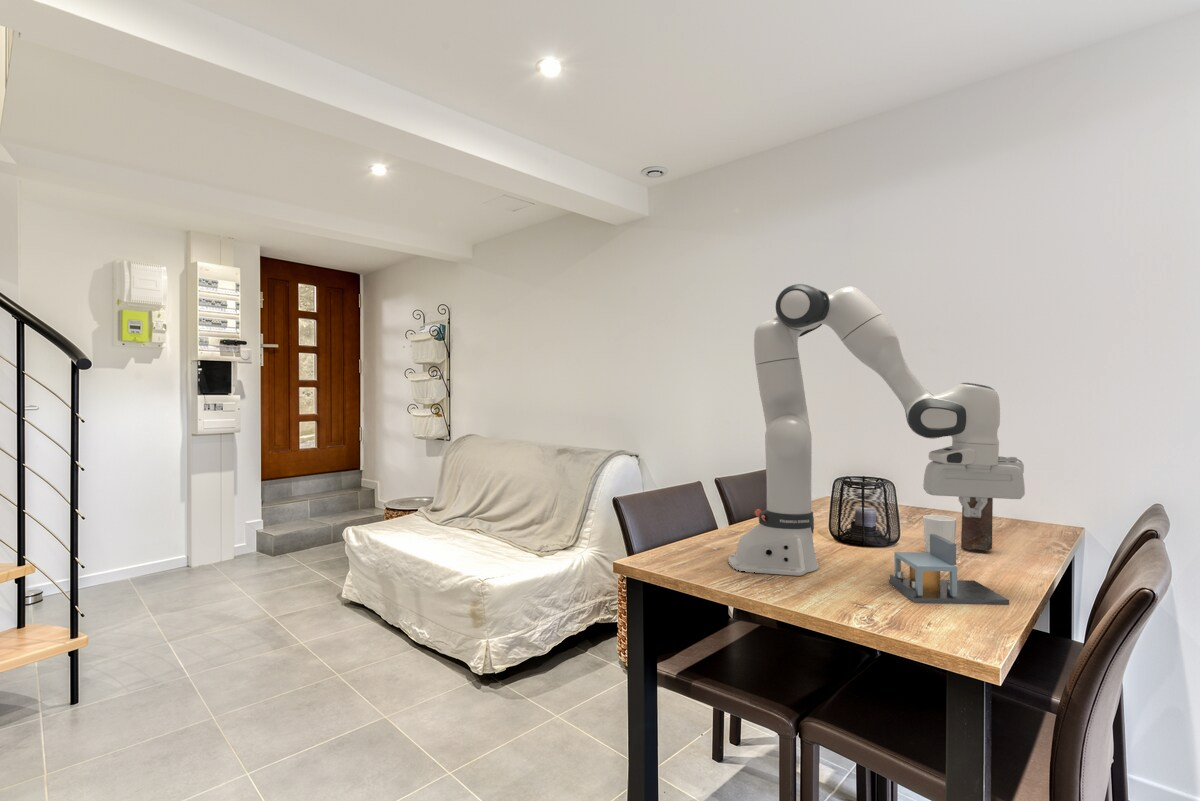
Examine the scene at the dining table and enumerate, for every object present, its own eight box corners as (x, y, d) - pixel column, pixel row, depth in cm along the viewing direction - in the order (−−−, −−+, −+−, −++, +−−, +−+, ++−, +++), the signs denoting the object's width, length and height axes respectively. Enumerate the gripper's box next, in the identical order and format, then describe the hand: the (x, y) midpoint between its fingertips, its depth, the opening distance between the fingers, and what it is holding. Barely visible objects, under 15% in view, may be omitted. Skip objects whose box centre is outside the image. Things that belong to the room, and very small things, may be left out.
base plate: (914, 602, 123) (914, 586, 123) (888, 583, 136) (888, 568, 136) (1009, 604, 121) (1009, 587, 121) (974, 584, 134) (974, 569, 134)
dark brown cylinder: (992, 549, 165) (992, 478, 165) (993, 555, 159) (993, 482, 159) (961, 546, 170) (960, 477, 170) (960, 551, 163) (960, 480, 163)
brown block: (940, 591, 127) (940, 571, 127) (918, 591, 127) (918, 570, 127) (930, 585, 131) (930, 565, 131) (909, 584, 132) (909, 565, 131)
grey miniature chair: (917, 595, 124) (917, 545, 124) (894, 578, 135) (894, 532, 135) (959, 596, 123) (959, 545, 123) (932, 579, 134) (932, 532, 134)
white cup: (961, 558, 157) (960, 521, 157) (929, 556, 158) (928, 520, 158) (949, 550, 164) (949, 515, 164) (919, 549, 166) (919, 514, 166)
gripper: (1014, 455, 133) (1012, 516, 134) (921, 452, 135) (919, 511, 135) (1032, 459, 127) (1030, 522, 127) (934, 455, 129) (932, 517, 129)
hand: (972, 516), depth 131 cm, fingers closed
